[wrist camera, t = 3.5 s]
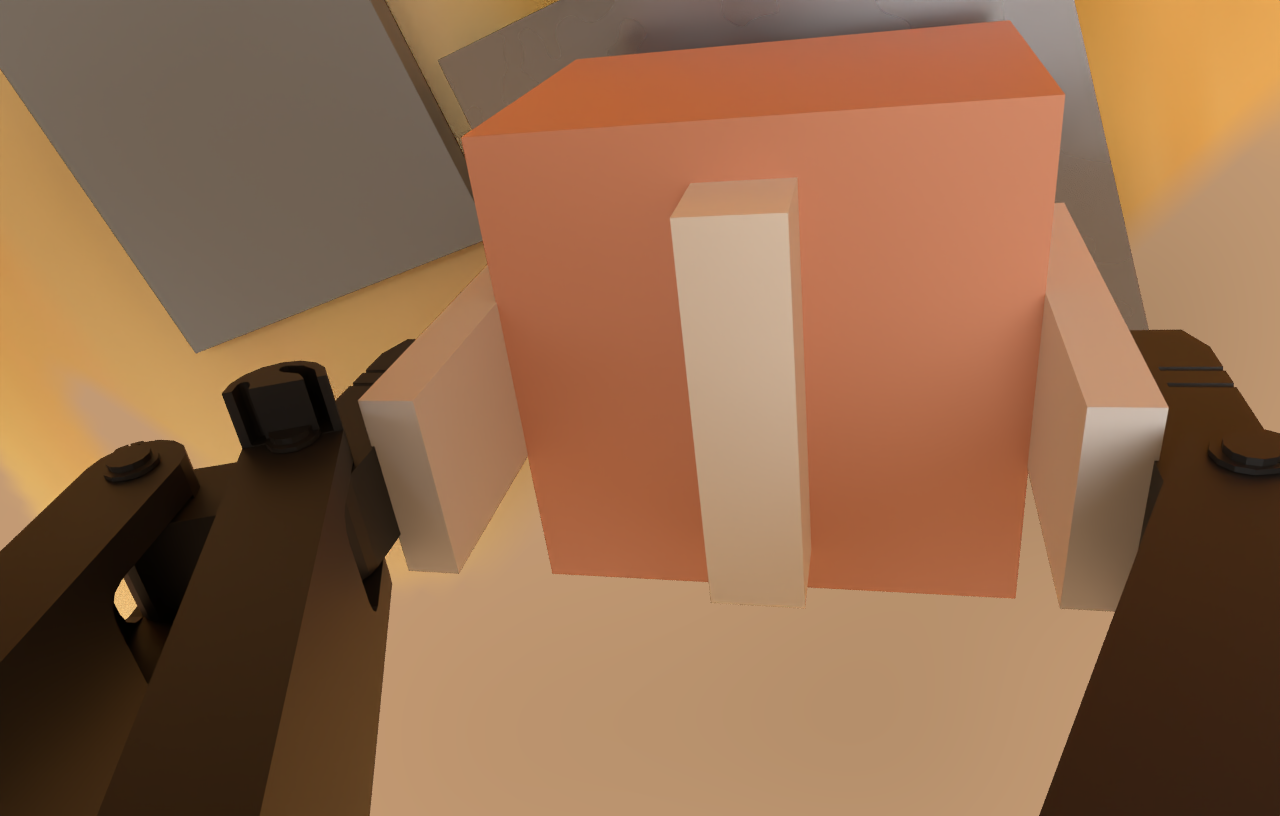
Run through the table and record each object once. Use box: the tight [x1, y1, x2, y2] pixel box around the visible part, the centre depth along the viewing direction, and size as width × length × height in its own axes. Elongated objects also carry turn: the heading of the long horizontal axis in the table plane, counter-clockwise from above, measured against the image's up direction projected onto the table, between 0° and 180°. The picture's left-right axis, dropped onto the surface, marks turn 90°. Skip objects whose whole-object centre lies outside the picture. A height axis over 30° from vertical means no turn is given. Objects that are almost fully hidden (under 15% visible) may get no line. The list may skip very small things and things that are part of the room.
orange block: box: [461, 20, 1065, 608], centre depth 15 cm, size 8×8×7 cm
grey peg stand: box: [438, 0, 1149, 330], centre depth 18 cm, size 12×12×7 cm
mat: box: [0, 0, 483, 353], centre depth 23 cm, size 10×10×1 cm
